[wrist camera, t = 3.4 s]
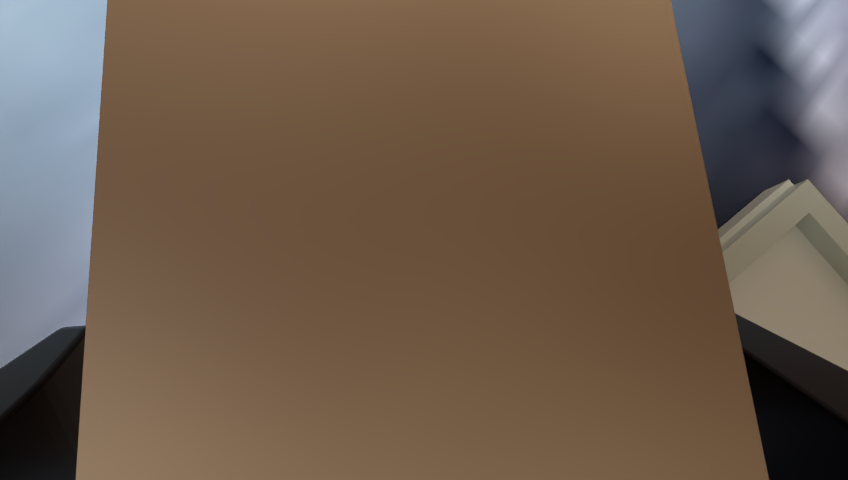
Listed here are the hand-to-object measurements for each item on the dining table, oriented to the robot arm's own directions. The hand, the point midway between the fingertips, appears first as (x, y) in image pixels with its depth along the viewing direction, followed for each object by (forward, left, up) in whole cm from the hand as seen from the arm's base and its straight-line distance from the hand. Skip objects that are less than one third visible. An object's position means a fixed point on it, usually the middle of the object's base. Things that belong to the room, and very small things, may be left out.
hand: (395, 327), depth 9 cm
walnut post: (0, 0, -8) cm, 8 cm away
